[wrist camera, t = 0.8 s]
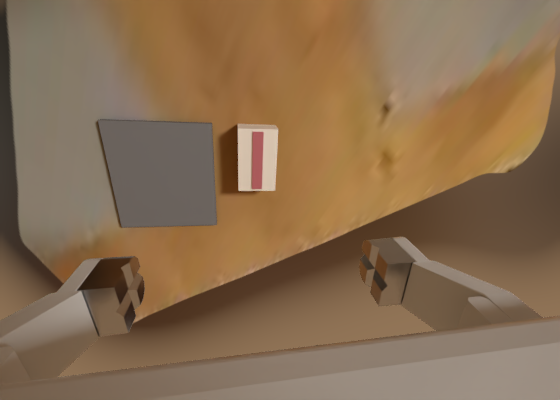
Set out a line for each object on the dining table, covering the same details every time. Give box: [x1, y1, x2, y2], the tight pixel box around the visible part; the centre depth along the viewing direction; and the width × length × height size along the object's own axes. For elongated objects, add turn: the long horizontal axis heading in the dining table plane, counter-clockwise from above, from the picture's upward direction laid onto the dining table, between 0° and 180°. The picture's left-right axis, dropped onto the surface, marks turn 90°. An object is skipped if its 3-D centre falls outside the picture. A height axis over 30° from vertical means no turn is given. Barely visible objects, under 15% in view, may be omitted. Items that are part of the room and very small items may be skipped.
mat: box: [98, 119, 217, 227], centre depth 44 cm, size 18×16×1 cm
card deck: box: [238, 124, 278, 191], centre depth 44 cm, size 10×6×4 cm, turn 177°
